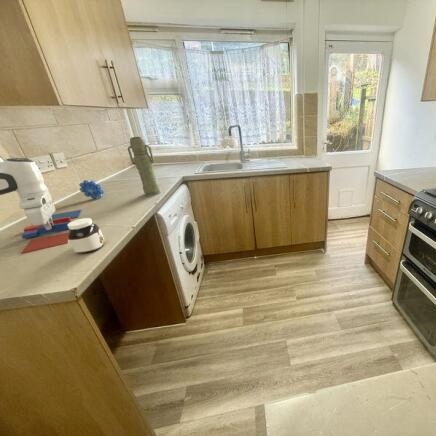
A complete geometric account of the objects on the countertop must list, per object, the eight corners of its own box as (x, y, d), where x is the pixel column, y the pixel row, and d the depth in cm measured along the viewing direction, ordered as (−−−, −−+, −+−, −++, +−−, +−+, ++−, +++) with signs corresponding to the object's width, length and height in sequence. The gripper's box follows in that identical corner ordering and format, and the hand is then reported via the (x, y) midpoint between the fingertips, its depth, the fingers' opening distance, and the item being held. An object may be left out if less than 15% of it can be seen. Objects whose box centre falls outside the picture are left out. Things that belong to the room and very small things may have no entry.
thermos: (163, 195, 152) (146, 136, 138) (142, 198, 148) (122, 138, 134) (164, 191, 160) (148, 135, 145) (143, 194, 156) (125, 137, 141)
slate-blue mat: (35, 225, 115) (35, 224, 114) (42, 217, 124) (42, 216, 124) (78, 217, 122) (78, 216, 122) (81, 210, 132) (81, 209, 131)
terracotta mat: (21, 253, 91) (20, 252, 91) (31, 240, 100) (30, 239, 100) (75, 242, 99) (75, 240, 99) (80, 231, 108) (79, 229, 108)
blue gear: (81, 202, 145) (72, 183, 140) (86, 198, 151) (77, 180, 146) (103, 199, 148) (96, 180, 143) (107, 196, 154) (100, 177, 149)
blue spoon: (22, 238, 101) (19, 232, 100) (25, 235, 104) (22, 229, 103) (71, 229, 109) (69, 223, 108) (73, 226, 112) (70, 220, 111)
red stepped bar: (24, 232, 108) (21, 226, 106) (27, 229, 110) (24, 223, 109) (70, 224, 115) (68, 218, 114) (72, 221, 118) (69, 216, 117)
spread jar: (96, 254, 89) (83, 226, 84) (61, 259, 87) (46, 231, 82) (111, 239, 100) (100, 213, 95) (80, 243, 98) (67, 217, 93)
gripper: (33, 192, 107) (46, 221, 113) (17, 206, 91) (33, 239, 97) (52, 190, 110) (64, 218, 116) (40, 203, 94) (54, 234, 100)
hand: (50, 227), depth 106 cm, fingers closed on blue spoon
